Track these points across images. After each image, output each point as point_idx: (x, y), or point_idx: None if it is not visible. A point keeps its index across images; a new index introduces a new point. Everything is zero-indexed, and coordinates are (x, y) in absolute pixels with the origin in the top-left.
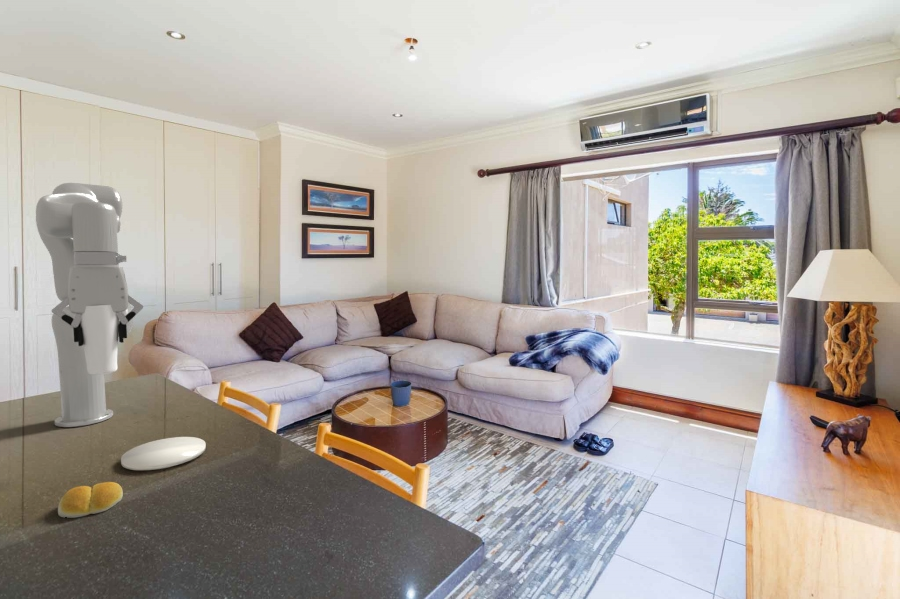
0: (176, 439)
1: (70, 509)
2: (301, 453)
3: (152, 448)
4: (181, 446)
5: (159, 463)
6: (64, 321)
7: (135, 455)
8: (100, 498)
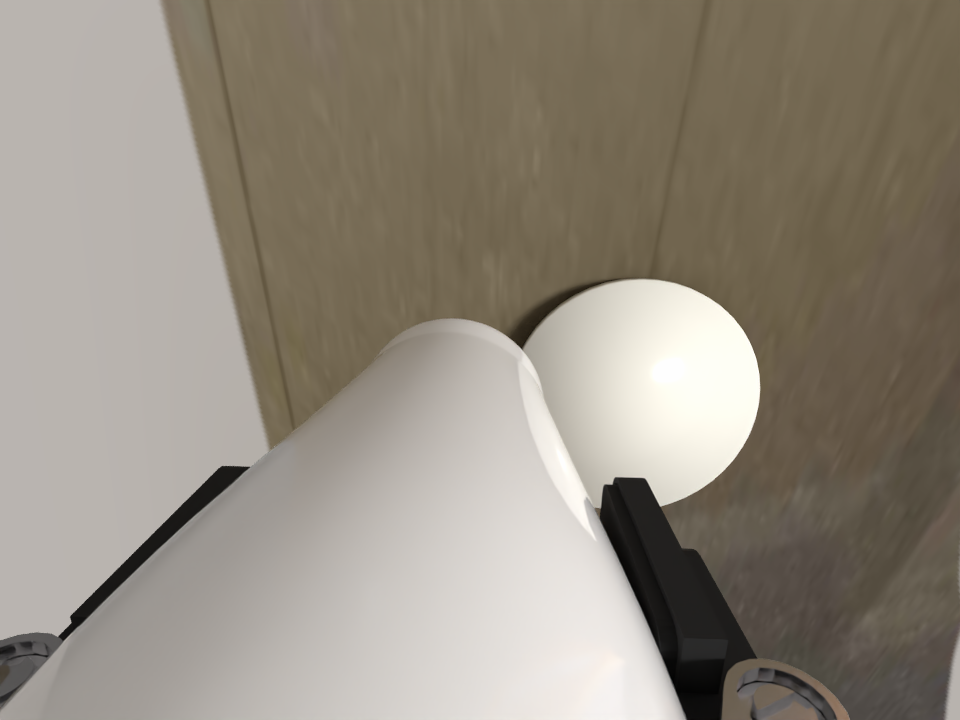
0: (689, 318)
1: None
2: (940, 604)
3: (603, 361)
4: (684, 401)
5: (598, 500)
6: None
7: (550, 393)
8: None
